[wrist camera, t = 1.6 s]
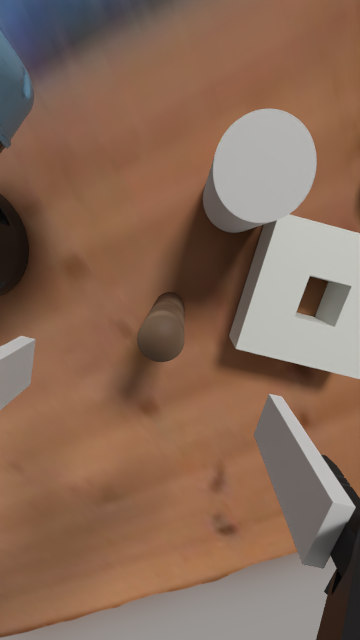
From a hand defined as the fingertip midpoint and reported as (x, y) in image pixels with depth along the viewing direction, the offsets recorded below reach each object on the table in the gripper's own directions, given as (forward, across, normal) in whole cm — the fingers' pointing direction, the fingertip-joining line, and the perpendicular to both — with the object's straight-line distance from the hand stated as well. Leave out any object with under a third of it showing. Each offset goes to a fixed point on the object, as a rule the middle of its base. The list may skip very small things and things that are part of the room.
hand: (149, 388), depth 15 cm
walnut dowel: (+22, 0, 0) cm, 22 cm away
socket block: (+22, +17, +6) cm, 29 cm away
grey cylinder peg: (+22, +5, +15) cm, 28 cm away
